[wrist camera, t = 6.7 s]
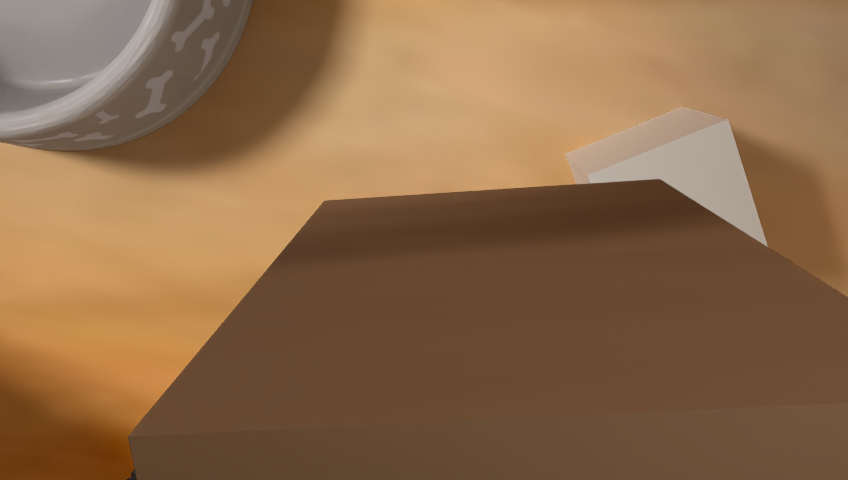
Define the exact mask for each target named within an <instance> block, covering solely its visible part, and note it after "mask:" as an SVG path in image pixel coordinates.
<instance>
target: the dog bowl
mask: <svg viewBox="0 0 848 480" xmlns="http://www.w3.org/2000/svg"><path fill="white" fill-rule="evenodd" d="M252 4H253V0H0V142H1V143H8V144H13V145H17V146H24V147H30V148H37V149H47V150H62V151H75V150H92V149H100V148H106V147H111V146H115V145H119V144H123V143H127V142H130V141H133V140H135V139H138V138H140V137H143V136H145V135H148V134H150V133H152V132H154V131H156V130H157V129H160V128H162V127H163V126H165V125H167V124H168V123H170V122H172V121H173V120H175V119H176V118H177V117H179V116H180V115H182V114H183V113H184V112H185V111H187V110H188V109H189V108H190V107H191V106H192V105H193V104H195V103H196V102H197V101H198V100H199V99H200V98H201V97H202V96H203V95H204V94H205V93H206V92H207V91H208V89H209V88H210V87H211V86H212V85H213V83H214V82H215V81H216V80H217V78H218V77H219V76H220V74H221V73H222V71H223V70H224V68H225V67H226V65H227V64H228V62H229V60H230V59H231V57H232V55H233V53H234V51H235V49H236V47H237V45H238V43H239V41H240V39H241V36H242V34H243V31H244V29H245V26H246V23H247V20H248V17H249V14H250V11H251V7H252Z"/></svg>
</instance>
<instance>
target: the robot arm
mask: <svg viewBox="0 0 848 480" xmlns="http://www.w3.org/2000/svg"><path fill="white" fill-rule="evenodd" d="M127 480H137V478H136V473H135V469H134V471H133V472H132V473H131V478H128V479H127Z"/></svg>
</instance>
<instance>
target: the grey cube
mask: <svg viewBox="0 0 848 480" xmlns="http://www.w3.org/2000/svg"><path fill="white" fill-rule="evenodd" d="M565 156H566V158H567V161H568V164H569V166H570V169H571V172H572V174H573V177H574V180H575V182H576V184H589V183H605V182H620V181H635V180H651V179H661V180H662V181H664V182H665V183H667V184H669V185H670V186H672V187H673V188H675V189H677V190H678V191H680V192H681V193H683V194H684V195H686V196H688V197H689V198H691V199H692V200H694V201H696V202H697V203H699V204H700V205H702V206H703V207H705V208H707V209H708V210H710V211H711V212H713V213H715V214H716V215H718V216H719V217H721V218H723V219H724V220H726V221H727V222H729V223H730V224H732V225H734V226H735V227H737V228H738V229H740V230H742V231H743V232H745V233H746V234H748V235H749V236H751V237H753V238H754V239H756V240H757V241H759V242H761V243H762V244H764V245H765V246H767V242H766V239H765V236H764V233H763V229H762V226H761V223H760V220H759V217H758V213H757V210H756V207H755V204H754V200H753V197H752V194H751V191H750V188H749V184H748V181H747V178H746V175H745V171H744V168H743V165H742V162H741V159H740V155H739V152H738V149H737V146H736V142H735V139H734V136H733V133H732V130H731V126H730V123H729V120H728V119H727V118H723V117H719V116H715V115H712V114H708V113H704V112H701V111H697V110H693V109H689V108H686V107H682V106H681V107H679V108H677V109H674V110H672V111H669V112H667V113H664V114H662V115H659V116H657V117H654V118H652V119H649V120H647V121H645V122H642V123H640V124H637V125H635V126H632V127H630V128H627V129H625V130H622V131H620V132H617V133H615V134H613V135H610V136H608V137H605V138H603V139H600V140H598V141H595V142H593V143H590V144H588V145H585V146H583V147H581V148H578V149H576V150H573V151H571V152H568V153H566V154H565ZM767 247H768V246H767Z"/></svg>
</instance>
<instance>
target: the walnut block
mask: <svg viewBox="0 0 848 480" xmlns="http://www.w3.org/2000/svg"><path fill="white" fill-rule="evenodd" d="M128 439H129V444H130V449H131V454H132V459H133V463H134V468H135V473H136V478H137V480H848V297H846V296H845V295H843V294H841V293H840V292H838V291H837V290H835V289H833V288H832V287H830V286H829V285H827V284H826V283H824V282H822V281H821V280H819V279H818V278H816V277H814V276H813V275H811V274H810V273H808V272H807V271H805V270H803V269H802V268H800V267H799V266H797V265H795V264H794V263H792V262H791V261H789V260H788V259H786V258H784V257H783V256H781V255H780V254H778V253H776V252H775V251H773V250H772V249H770V248H768V247H767V246H765V245H764V244H762V243H761V242H759V241H757V240H756V239H754V238H753V237H751V236H749V235H748V234H746V233H745V232H743V231H742V230H740V229H738V228H737V227H735V226H734V225H732V224H730V223H729V222H727V221H726V220H724V219H723V218H721V217H719V216H718V215H716V214H715V213H713V212H711V211H710V210H708V209H707V208H705V207H703V206H702V205H700V204H699V203H697V202H696V201H694V200H692V199H691V198H689V197H688V196H686V195H684V194H683V193H681V192H680V191H678V190H677V189H675V188H673V187H672V186H670V185H669V184H667V183H665V182H664V181H662V180H661V179H651V180H635V181H620V182H605V183H589V184H574V185H559V186H543V187H528V188H513V189H497V190H482V191H467V192H451V193H436V194H421V195H405V196H390V197H375V198H359V199H344V200H329V201H324V202H323V203H322V204H321V206H320V207H319V208H318V209H317V210H316V212H315V213H314V214H313V215H312V216H311V218H310V219H309V220H308V221H307V222H306V224H305V225H304V226H303V227H302V228H301V230H300V231H299V232H298V233H297V234H296V236H295V237H294V238H293V239H292V240H291V242H290V243H289V244H288V245H287V246H286V248H285V249H284V250H283V251H282V252H281V254H280V255H279V256H278V257H277V258H276V260H275V261H274V262H273V263H272V264H271V266H270V267H269V268H268V269H267V270H266V272H265V273H264V274H263V275H262V276H261V278H260V279H259V280H258V281H257V282H256V284H255V285H254V286H253V287H252V288H251V290H250V291H249V292H248V293H247V294H246V296H245V297H244V298H243V299H242V300H241V301H240V303H239V304H238V305H237V306H236V307H235V309H234V310H233V311H232V312H231V313H230V315H229V316H228V317H227V318H226V319H225V321H224V322H223V323H222V324H221V325H220V327H219V328H218V329H217V330H216V331H215V333H214V334H213V335H212V336H211V337H210V339H209V340H208V341H207V342H206V343H205V345H204V346H203V347H202V348H201V349H200V351H199V352H198V353H197V354H196V355H195V357H194V358H193V359H192V360H191V361H190V363H189V364H188V365H187V366H186V367H185V369H184V370H183V371H182V372H181V373H180V375H179V376H178V377H177V378H176V379H175V381H174V382H173V383H172V384H171V385H170V387H169V388H168V389H167V390H166V391H165V393H164V394H163V395H162V396H161V397H160V399H159V400H158V401H157V402H156V403H155V405H154V406H153V407H152V408H151V409H150V411H149V412H148V413H147V414H146V415H145V417H144V418H143V419H142V420H141V421H140V423H139V424H138V425H137V426H136V427H135V429H134V430H133V431H132V432H131V433H130V435H129V436H128Z"/></svg>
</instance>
